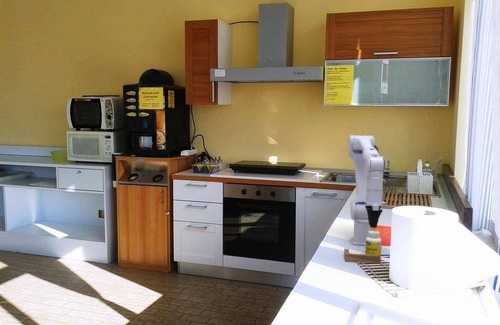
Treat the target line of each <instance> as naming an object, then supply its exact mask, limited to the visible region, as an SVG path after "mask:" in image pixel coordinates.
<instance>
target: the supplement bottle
mask: <svg viewBox="0 0 500 325" xmlns="http://www.w3.org/2000/svg"><path fill="white" fill-rule="evenodd" d="M380 234H381V232H380V231H379V230H375V229H374V230H373V229H372V230H370V231H368V235H369V236H368V237H367V238H366V245H365V251H364V252H365V254H367V255H380V256H382V238H381V237H380V236H381V235H380Z"/></svg>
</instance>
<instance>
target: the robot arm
mask: <svg viewBox="0 0 500 325" xmlns="http://www.w3.org/2000/svg"><path fill="white" fill-rule="evenodd" d="M347 141H348V142H347V145H348V146H347V147H348V148H347V149H348V155H349V158H351V159H352V160H353V164H354V175H355V176H354V178H355V187H356V188H355V189H356V197H354V198H353V199H352V200H351V202H350V207H349V208H350V210H349V213H350V218H351V220H353V236H352V237H351V241H352V245H354V246H357V245H358V246H366V238H367V237H368V236H369V235H368V231H370V230H373V229H377V227H378V224H379V220H380V216H381V214H382V213H383V211H384V210H383V209H382V208H381V206H382V205H385V204H386V202H385V201H383V187H384V186H383V185H384V183H383V182H384V173H385V171H386V168H387V162H386V161H387V160H386V158H385V155H383V156H380V154H379V152H378V150H377V148H375V145H376V144H375V142H376V140H375V137H374V136H373V135H372V134H371V135H353V134H350V135H349V137H348V140H347Z"/></svg>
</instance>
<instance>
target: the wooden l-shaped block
mask: <svg viewBox="0 0 500 325" xmlns="http://www.w3.org/2000/svg"><path fill="white" fill-rule="evenodd" d="M343 255H344V262H348V263H364V264H381V261H382V257H381V256H382V255H381V256H380V255H367V254H364V253H350V249H349V248H344V252H343Z"/></svg>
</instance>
